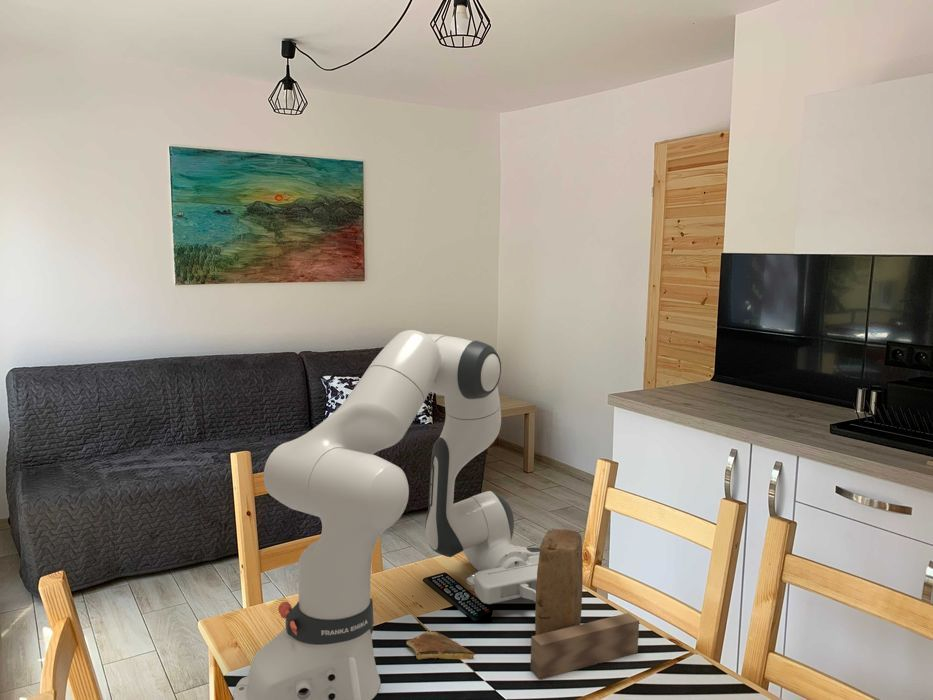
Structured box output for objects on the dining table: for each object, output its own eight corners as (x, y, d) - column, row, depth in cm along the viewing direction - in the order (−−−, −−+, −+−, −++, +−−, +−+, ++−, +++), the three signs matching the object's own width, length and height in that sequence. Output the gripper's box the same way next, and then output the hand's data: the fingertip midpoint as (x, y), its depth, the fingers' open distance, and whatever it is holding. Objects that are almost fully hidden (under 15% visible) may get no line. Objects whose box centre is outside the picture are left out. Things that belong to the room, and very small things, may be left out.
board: (539, 679, 116) (540, 645, 116) (530, 670, 119) (531, 636, 118) (637, 652, 125) (639, 620, 124) (626, 644, 128) (628, 612, 127)
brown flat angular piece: (475, 661, 122) (476, 651, 122) (442, 678, 117) (442, 668, 117) (434, 636, 130) (434, 627, 130) (401, 652, 125) (401, 642, 125)
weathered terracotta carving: (573, 659, 122) (578, 548, 120) (531, 651, 125) (534, 542, 122) (584, 629, 133) (588, 526, 130) (544, 622, 135) (548, 521, 132)
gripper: (463, 562, 141) (495, 592, 129) (550, 546, 150) (588, 572, 138) (462, 592, 142) (494, 624, 130) (549, 574, 151) (587, 603, 139)
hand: (543, 597), depth 134 cm, fingers closed
